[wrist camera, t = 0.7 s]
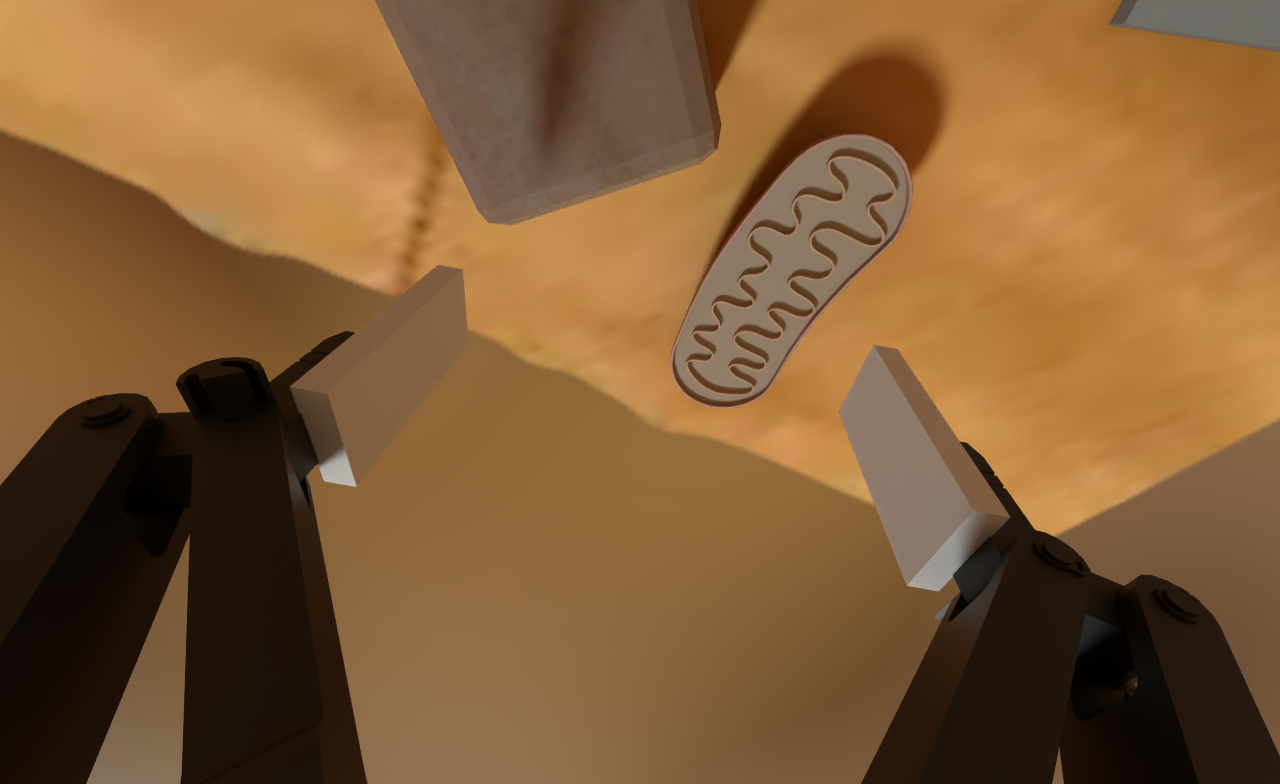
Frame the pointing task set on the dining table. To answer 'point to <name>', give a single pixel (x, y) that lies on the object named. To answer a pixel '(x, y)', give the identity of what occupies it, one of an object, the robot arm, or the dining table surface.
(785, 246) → the anatomical model
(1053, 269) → the dining table surface
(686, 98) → the wooden block
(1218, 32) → the board
